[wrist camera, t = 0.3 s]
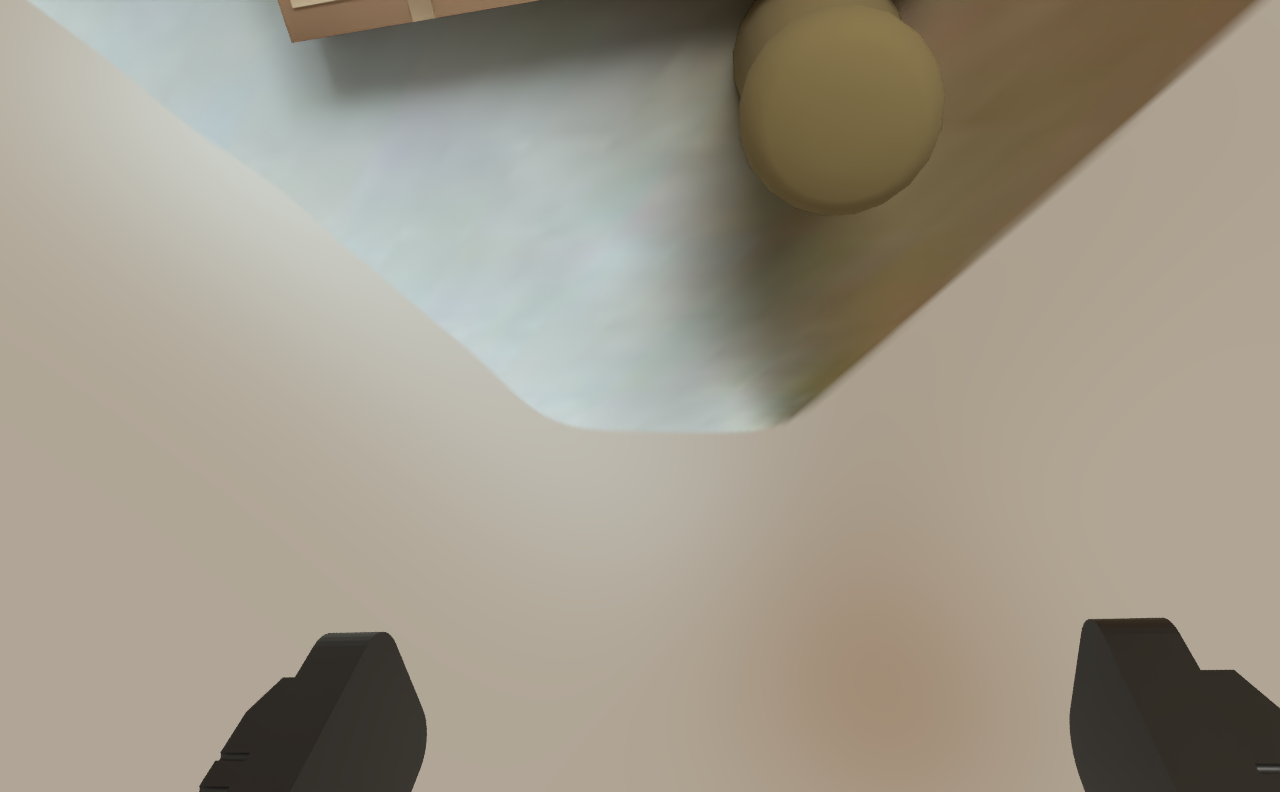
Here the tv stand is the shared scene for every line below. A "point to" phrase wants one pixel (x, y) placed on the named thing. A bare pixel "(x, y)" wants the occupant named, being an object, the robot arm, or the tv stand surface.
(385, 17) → the walnut board
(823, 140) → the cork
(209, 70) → the tv stand surface
